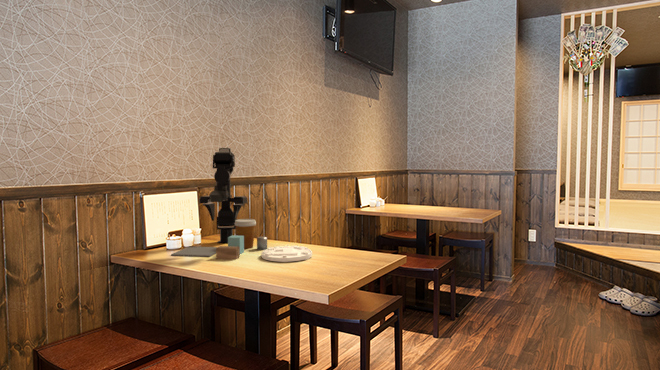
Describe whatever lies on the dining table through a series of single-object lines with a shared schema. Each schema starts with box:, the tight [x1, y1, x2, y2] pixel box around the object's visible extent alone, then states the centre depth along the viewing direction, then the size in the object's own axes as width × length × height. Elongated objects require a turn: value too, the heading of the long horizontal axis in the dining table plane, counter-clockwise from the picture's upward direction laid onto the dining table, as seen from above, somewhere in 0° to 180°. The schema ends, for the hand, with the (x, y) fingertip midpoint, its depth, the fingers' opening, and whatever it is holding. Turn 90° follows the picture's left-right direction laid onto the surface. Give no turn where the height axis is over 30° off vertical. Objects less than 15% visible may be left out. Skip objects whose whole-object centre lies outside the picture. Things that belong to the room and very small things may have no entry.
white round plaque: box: [261, 245, 313, 263], centre depth 169 cm, size 20×20×3 cm
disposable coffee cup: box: [234, 218, 257, 250], centre depth 187 cm, size 10×10×12 cm
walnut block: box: [215, 245, 241, 260], centre depth 166 cm, size 4×8×4 cm, turn 83°
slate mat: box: [170, 245, 218, 258], centre depth 177 cm, size 16×16×1 cm
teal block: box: [227, 234, 245, 256], centre depth 175 cm, size 5×5×7 cm
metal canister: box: [256, 236, 268, 251], centre depth 184 cm, size 4×4×5 cm
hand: (223, 220), depth 175 cm, fingers open, 9 cm apart
